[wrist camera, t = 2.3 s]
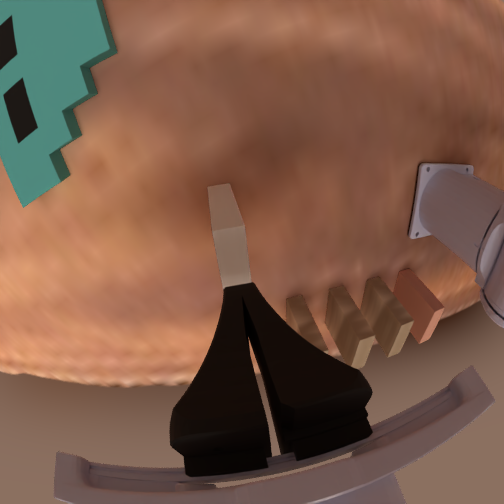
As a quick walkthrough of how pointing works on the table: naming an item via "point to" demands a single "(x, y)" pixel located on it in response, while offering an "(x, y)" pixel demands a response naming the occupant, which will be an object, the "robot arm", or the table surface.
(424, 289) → the domino
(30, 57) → the alien figure
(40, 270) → the table surface
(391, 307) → the domino
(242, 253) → the white domino
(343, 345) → the domino
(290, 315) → the domino
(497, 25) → the table surface
